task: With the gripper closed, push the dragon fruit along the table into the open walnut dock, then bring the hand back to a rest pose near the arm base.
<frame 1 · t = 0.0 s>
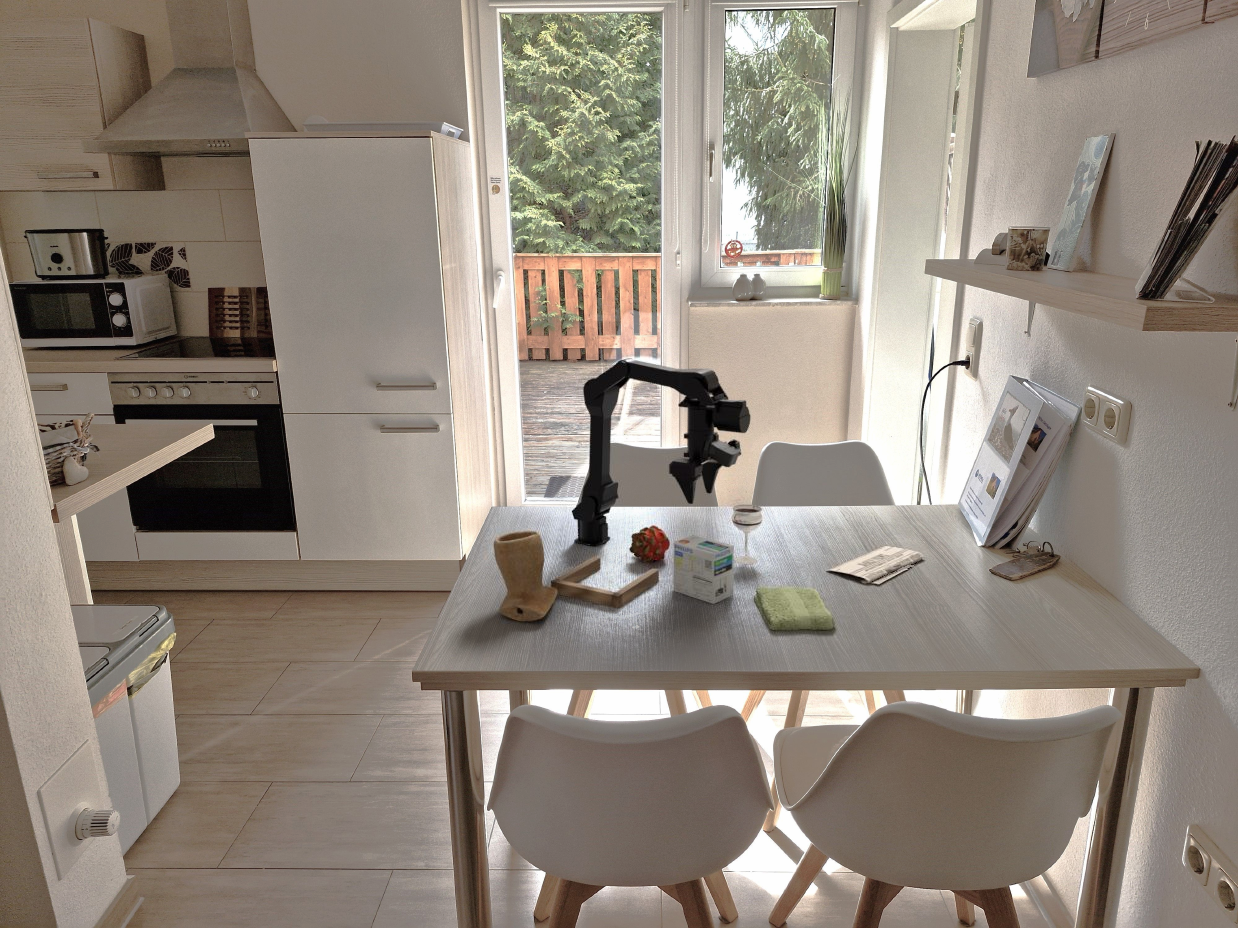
hand: (700, 498, 192), 15 cm above the table, tool pointing down, fingers open, 9 cm apart
newspaper: (880, 569, 192), on the table
dragon fruit: (649, 560, 198), on the table
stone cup: (524, 609, 172), on the table
light bulb box: (702, 594, 178), on the table
wineglass: (745, 560, 196), on the table
walnut dock: (607, 585, 183), on the table
washcloth: (792, 615, 169), on the table
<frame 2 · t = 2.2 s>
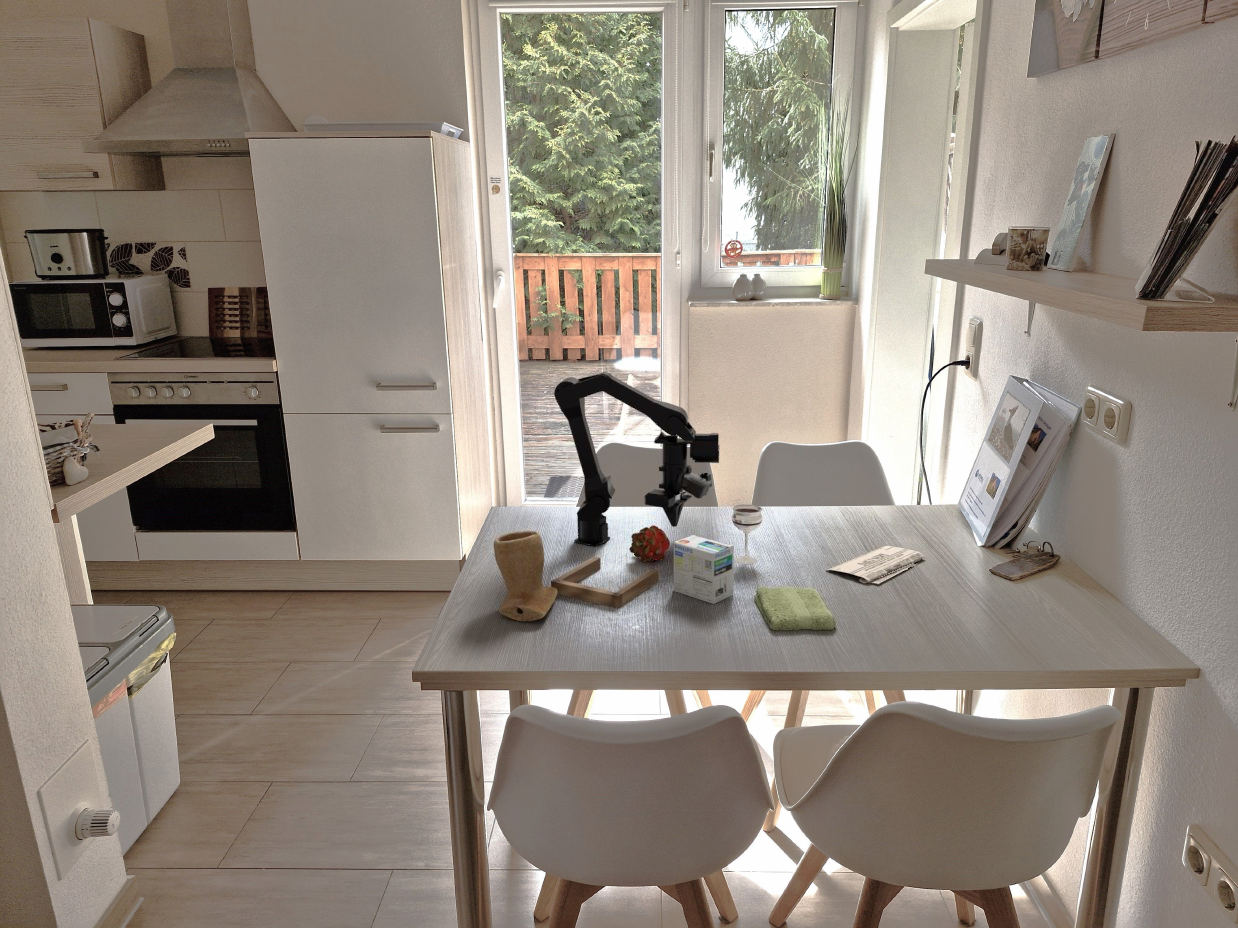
hand: (674, 526, 206), 4 cm above the table, tool pointing down, fingers closed
nothing on the table moved.
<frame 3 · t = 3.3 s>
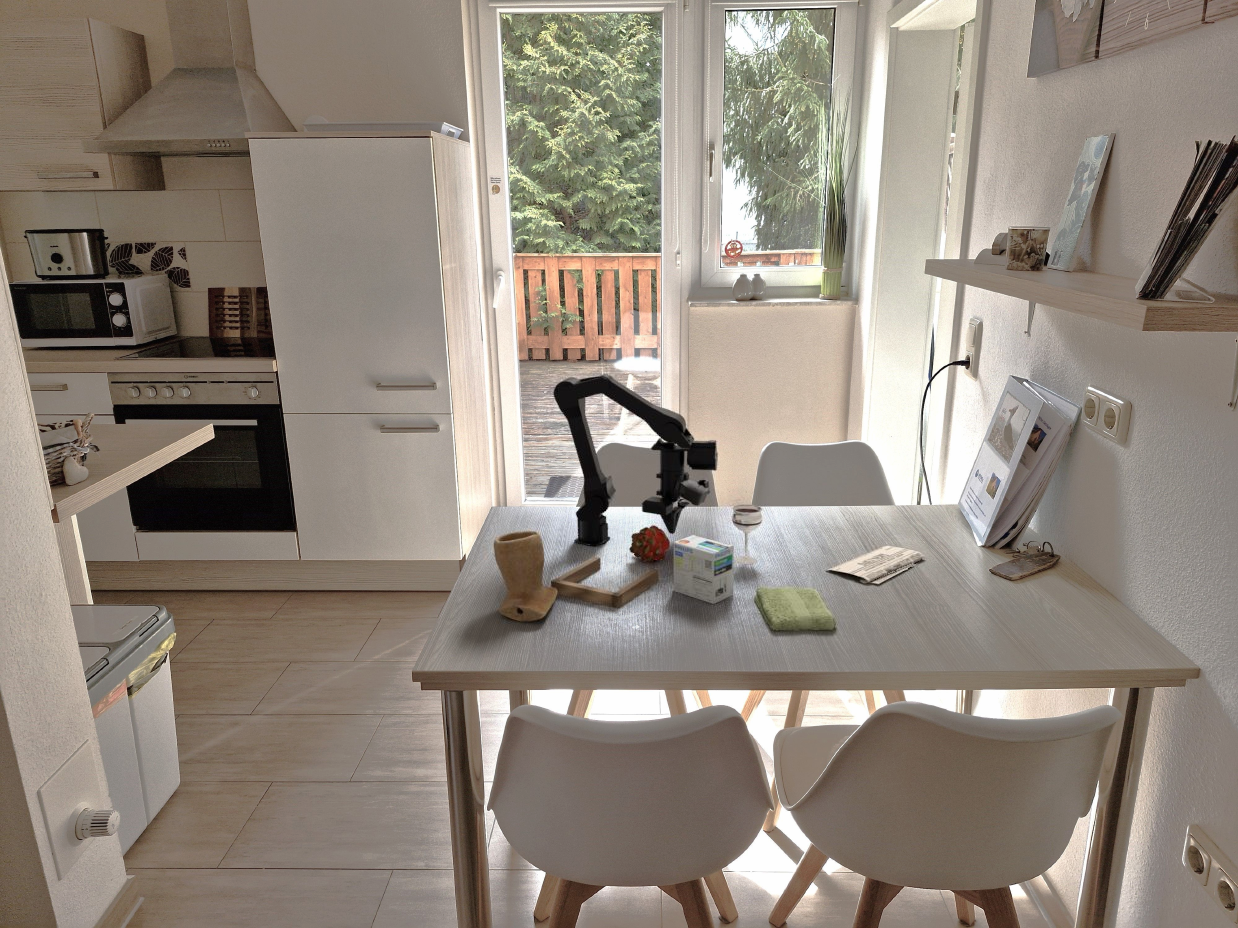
hand: (671, 533, 206), 3 cm above the table, tool pointing down, fingers closed
nothing on the table moved.
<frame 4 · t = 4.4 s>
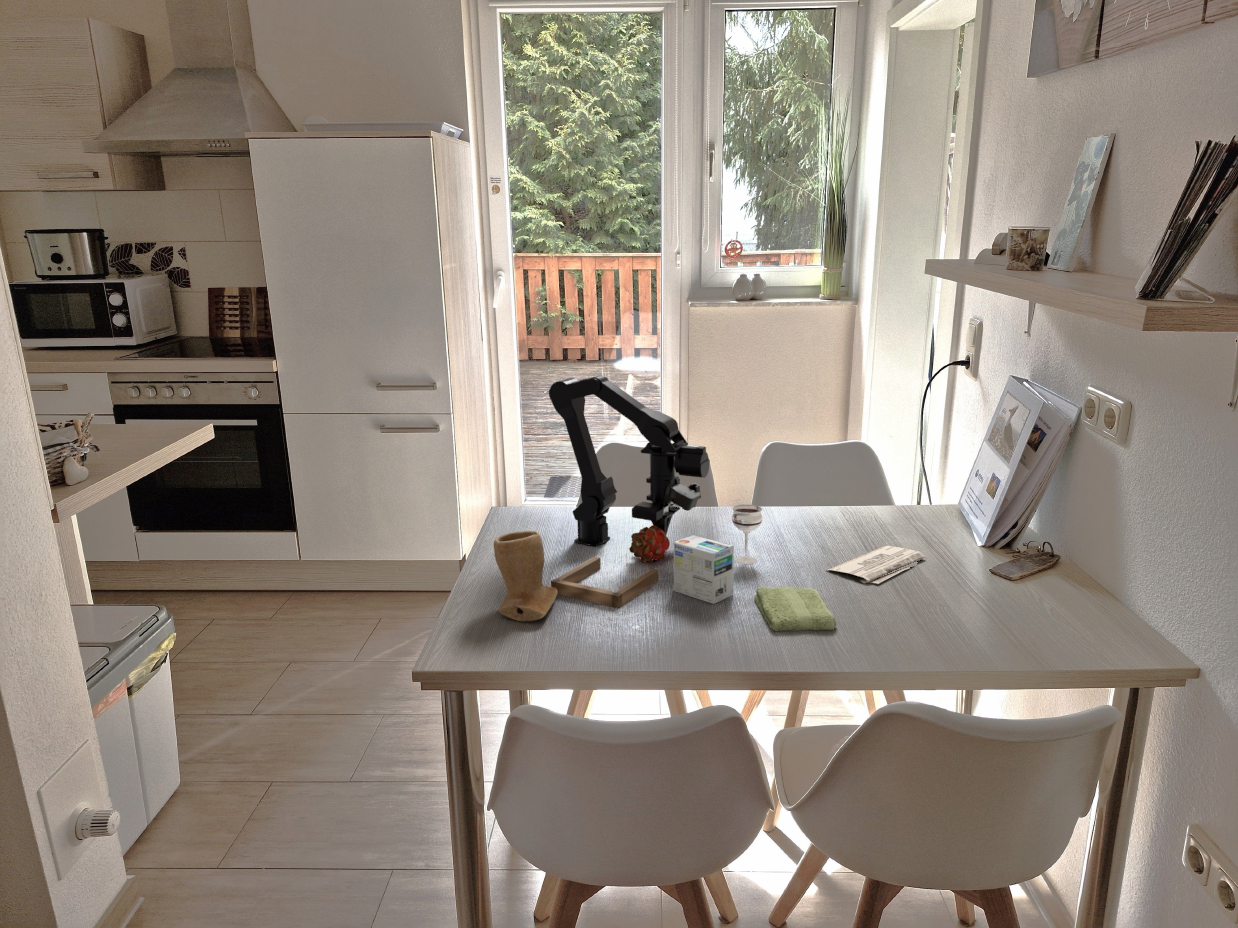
hand: (662, 538, 202), 3 cm above the table, tool pointing down, fingers closed
dragon fruit: (649, 559, 198), on the table, touching gripper
everything else where it was.
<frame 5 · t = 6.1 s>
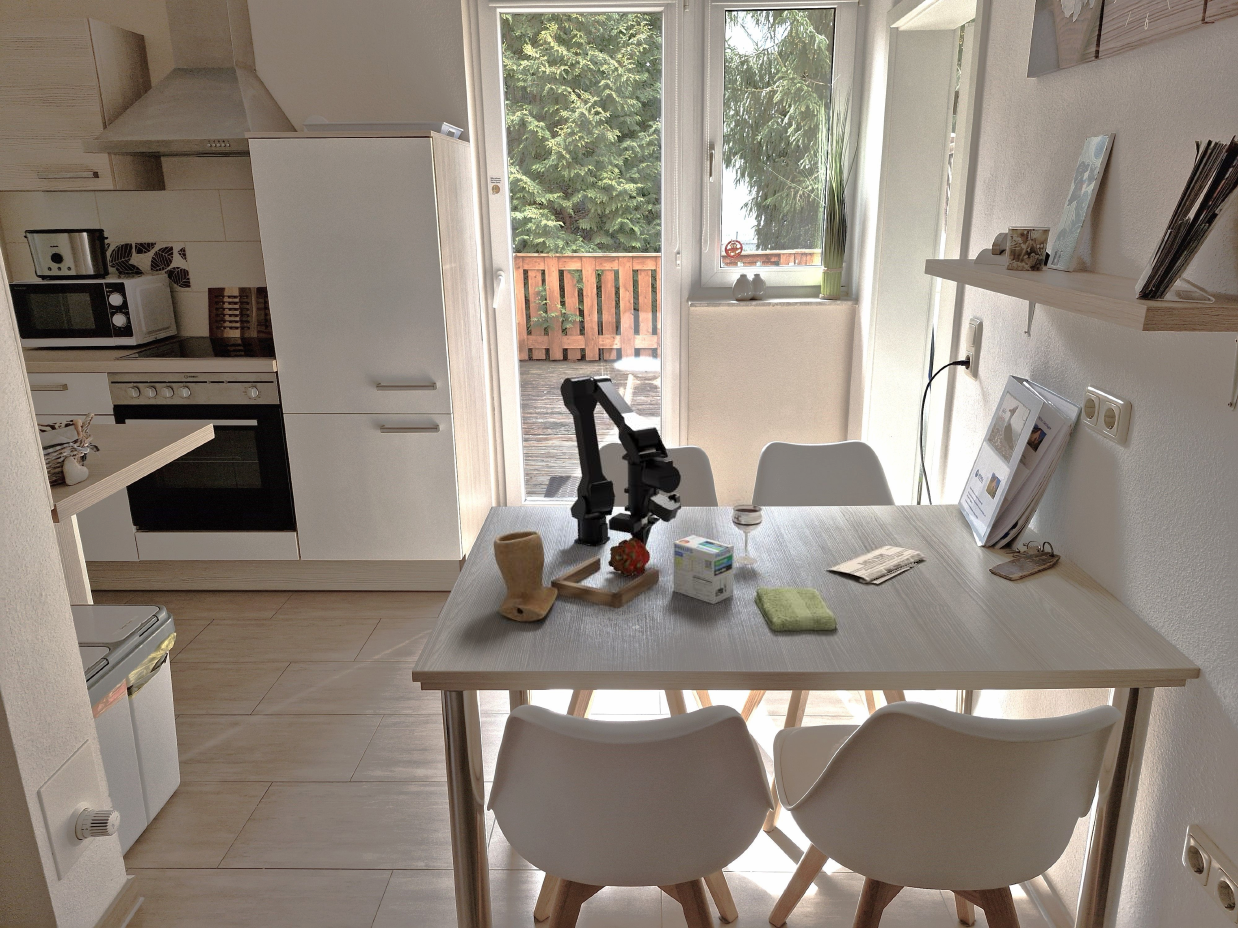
hand: (641, 550, 194), 3 cm above the table, tool pointing down, fingers closed
dragon fruit: (629, 573, 189), on the table, touching gripper
everything else where it was.
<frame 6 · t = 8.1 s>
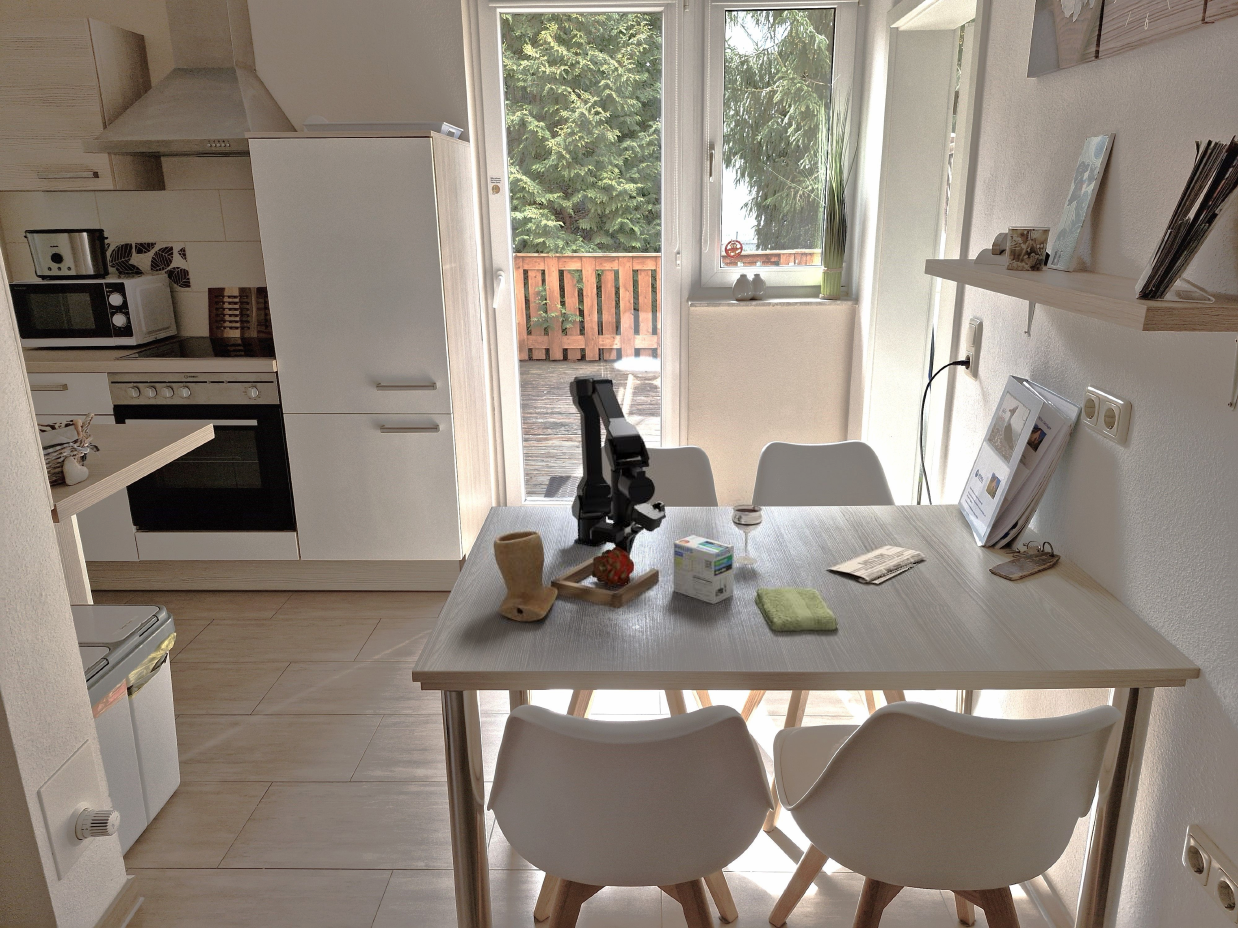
hand: (625, 560, 188), 3 cm above the table, tool pointing down, fingers closed
dragon fruit: (613, 584, 184), on the table, touching gripper
everything else where it was.
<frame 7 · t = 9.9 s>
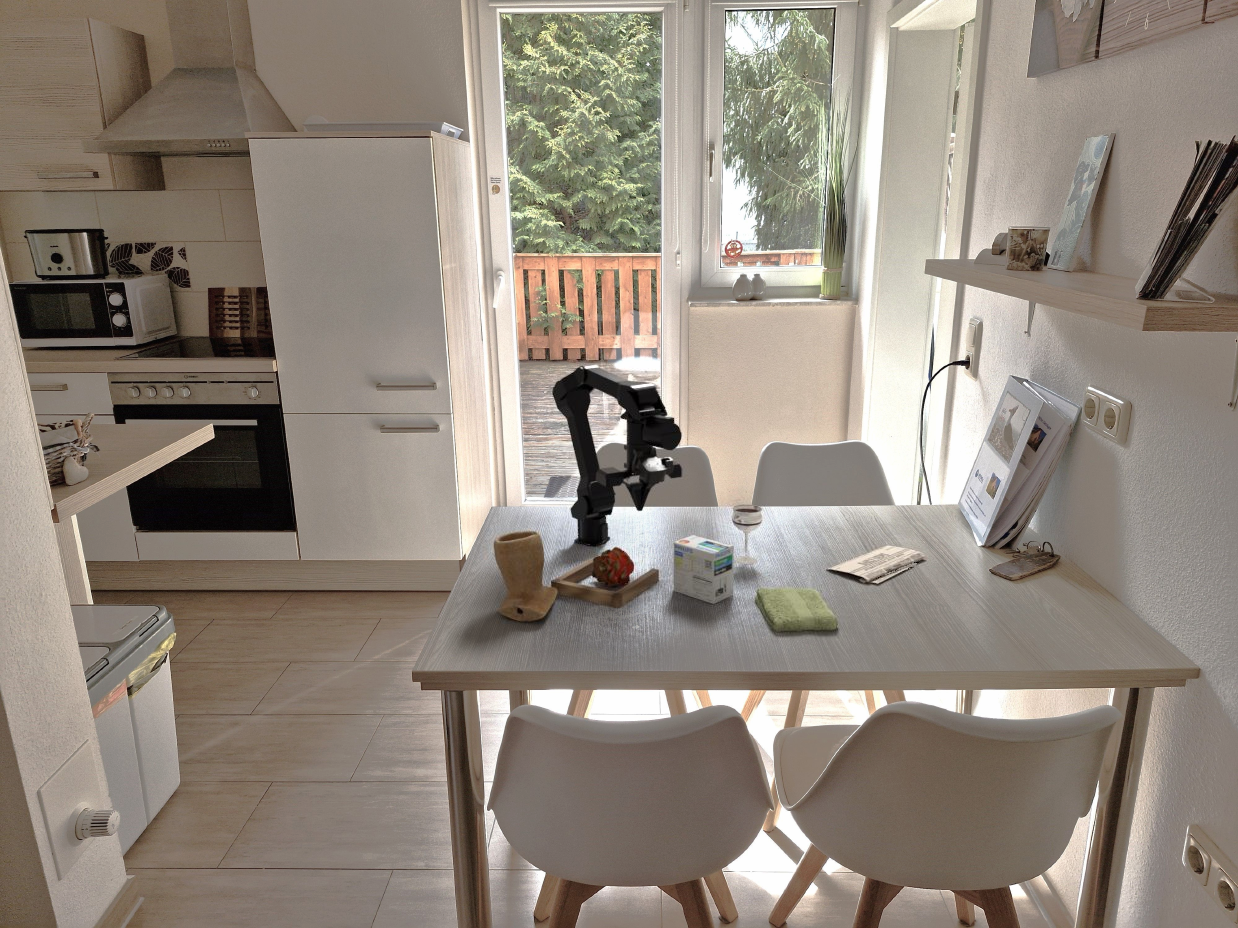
hand: (639, 510, 194), 12 cm above the table, tool pointing down, fingers closed
dragon fruit: (613, 584, 184), on the table
everything else where it was.
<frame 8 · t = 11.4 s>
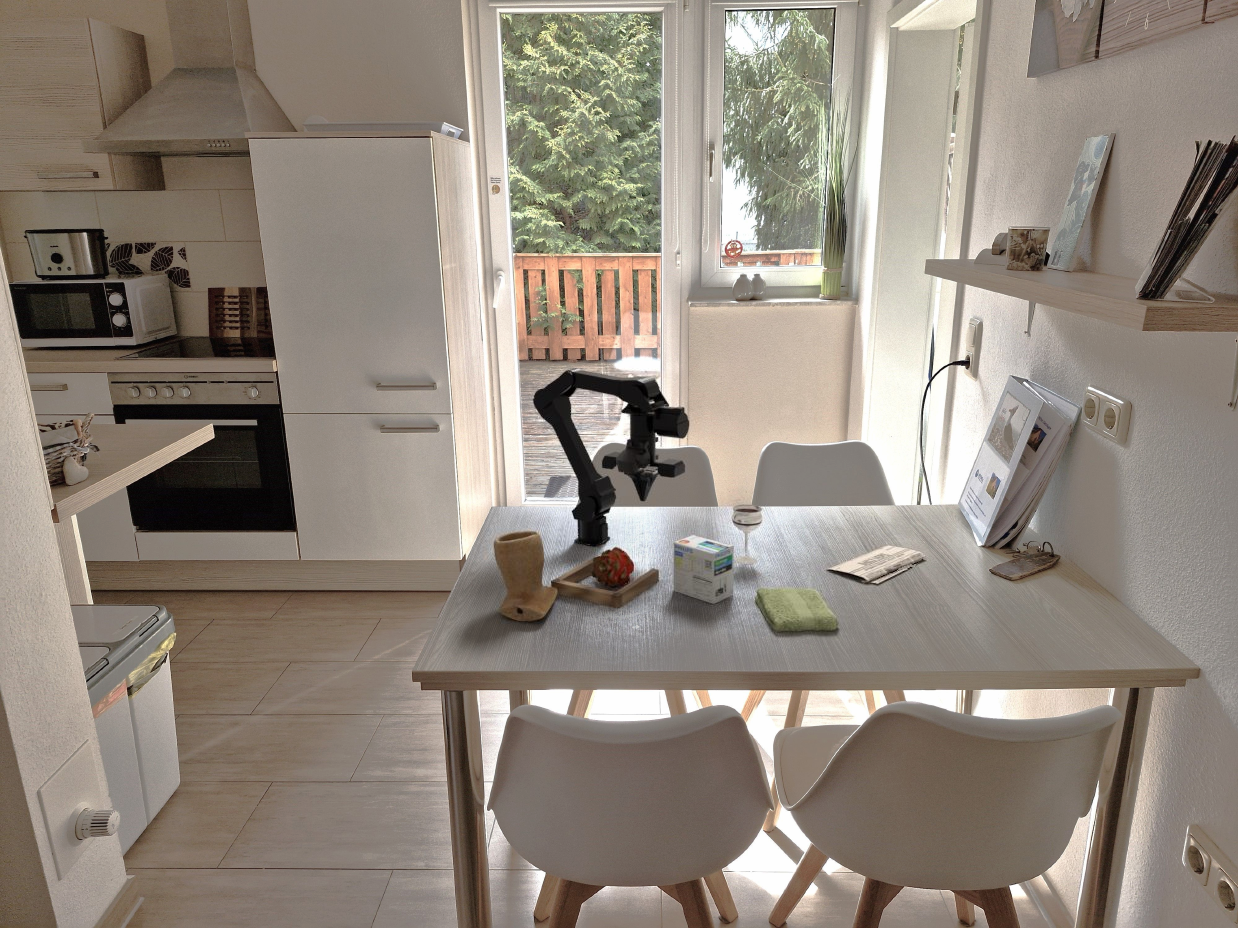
hand: (643, 500, 200), 12 cm above the table, tool pointing down, fingers closed
nothing on the table moved.
at the end: dragon fruit inside the target area (1.6 cm from its centre), on the table; dragon fruit moved 16.6 cm from its start; dragon fruit touching table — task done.
